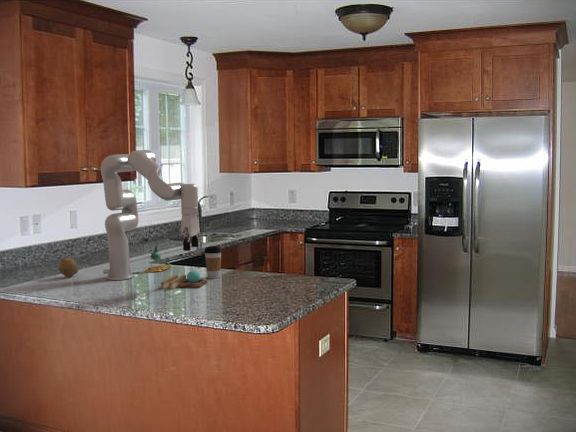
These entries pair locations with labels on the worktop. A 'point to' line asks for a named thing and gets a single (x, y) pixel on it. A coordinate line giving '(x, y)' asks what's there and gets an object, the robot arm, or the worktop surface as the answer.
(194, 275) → the ball
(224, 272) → the worktop surface
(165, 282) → the rail
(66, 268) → the natural sponge
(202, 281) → the tray
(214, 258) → the coffee cup
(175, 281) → the rail
